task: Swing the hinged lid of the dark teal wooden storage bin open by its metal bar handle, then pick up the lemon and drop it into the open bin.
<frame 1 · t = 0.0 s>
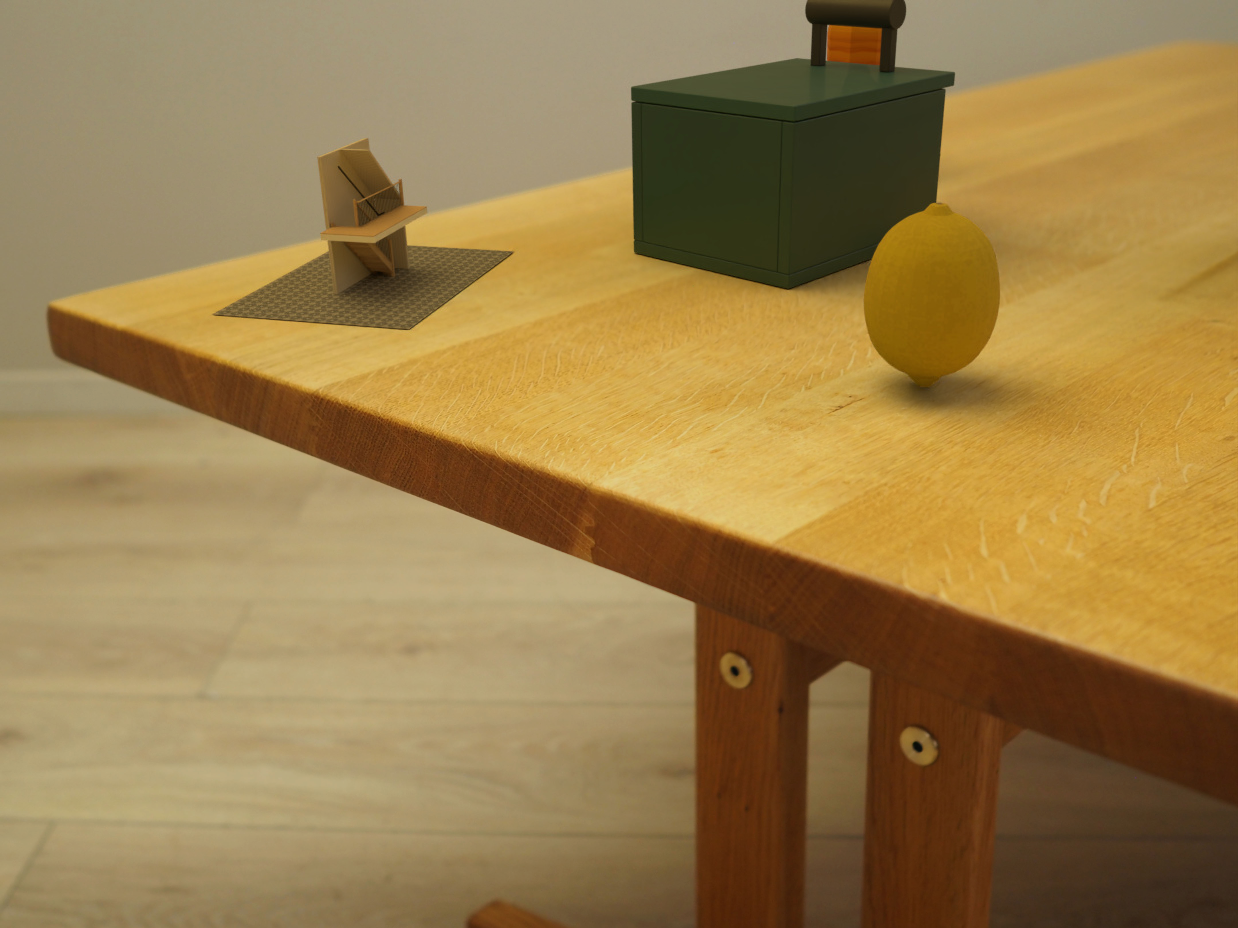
carrot: (852, 174, 95), on the table
bin lid: (797, 48, 72), point 11 cm above the table, hinge at 0.0°
lemon: (923, 391, 54), on the table
architectural model: (374, 284, 71), on the table
bin: (785, 244, 76), on the table
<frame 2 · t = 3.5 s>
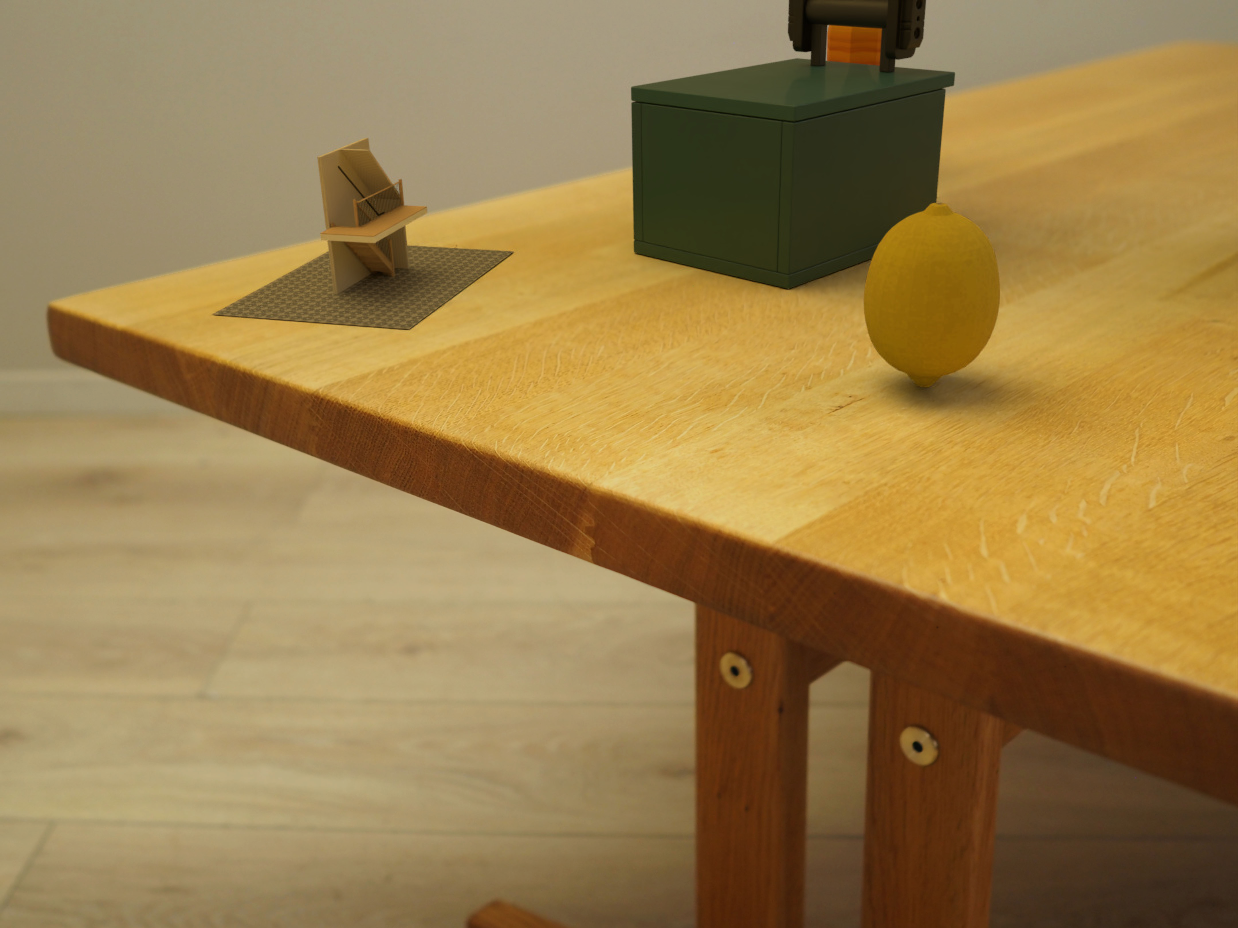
hand: (852, 53, 76), 11 cm above the table, tool pointing down, fingers closed on bin lid, 6 cm apart
bin lid: (797, 48, 72), point 11 cm above the table, hinge at 0.0°, touching gripper
everything else where it was.
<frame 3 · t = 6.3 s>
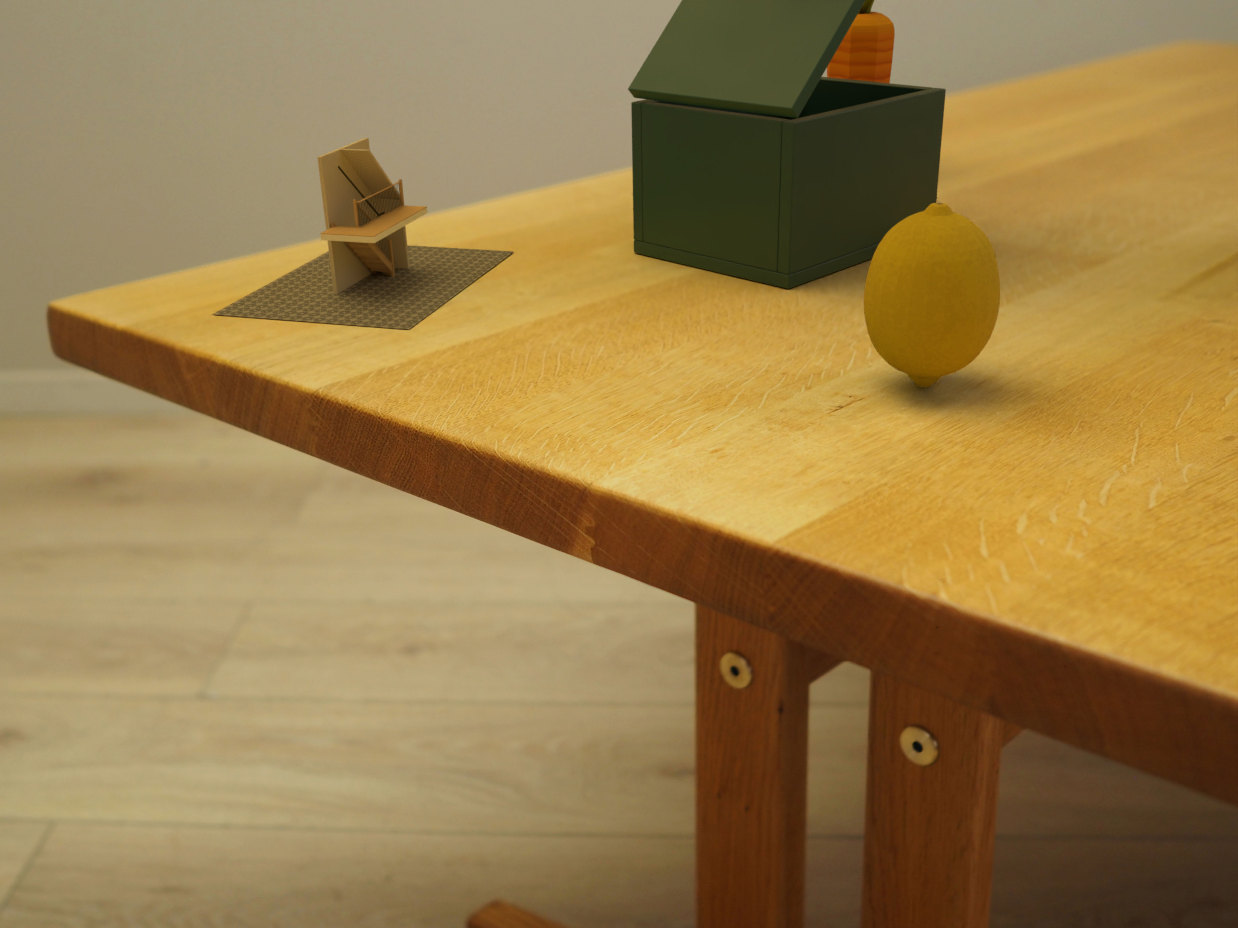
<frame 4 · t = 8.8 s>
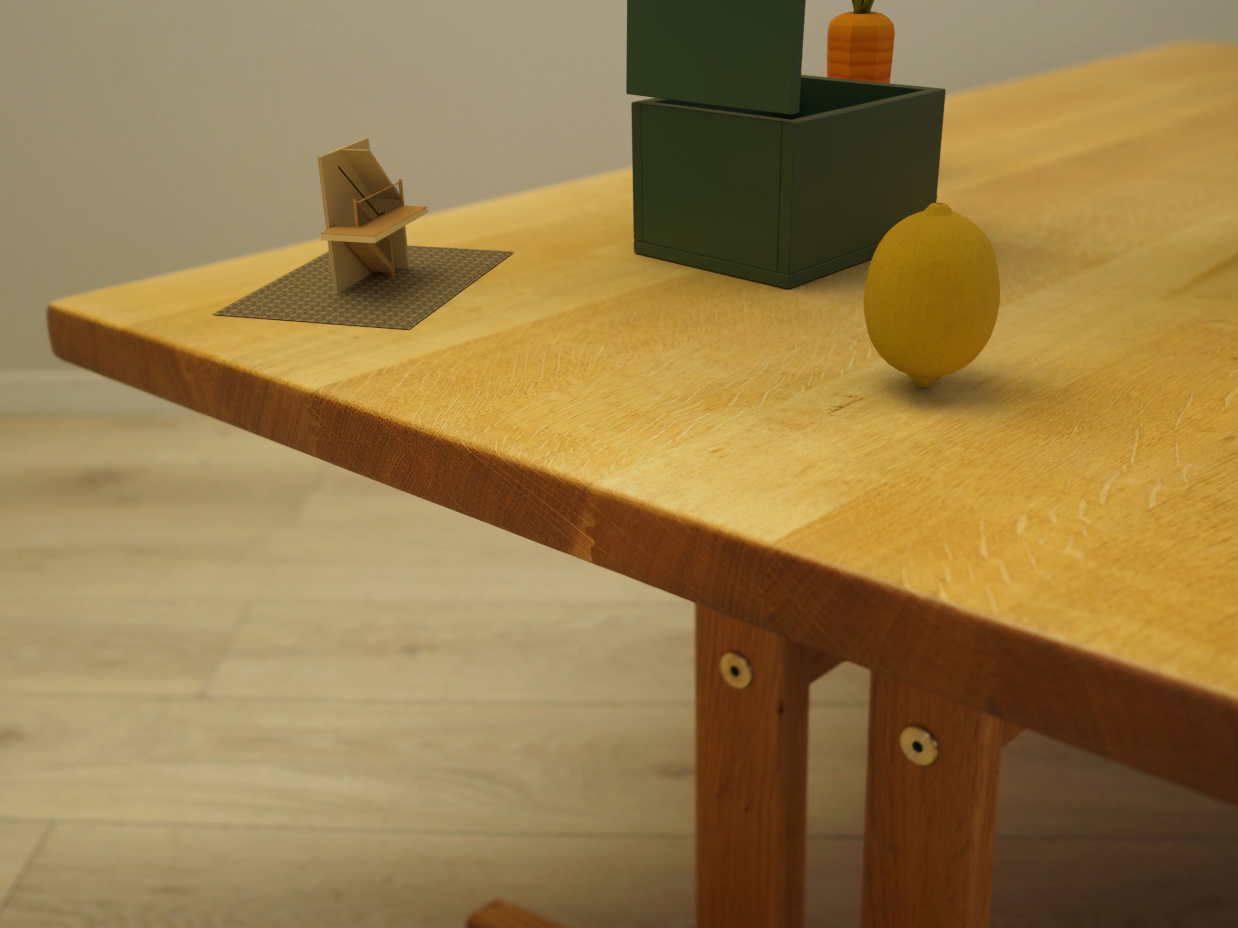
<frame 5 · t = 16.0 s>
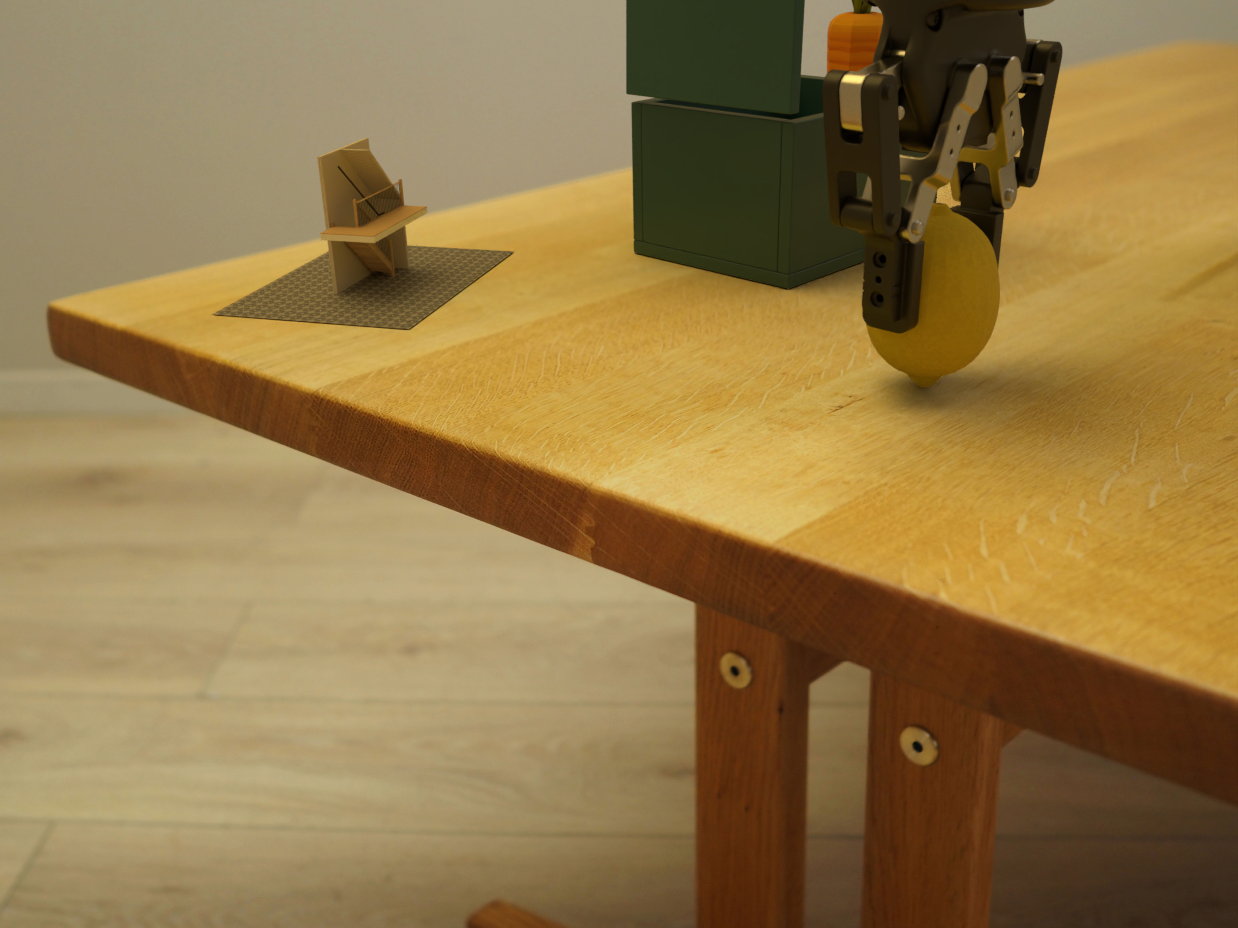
hand: (930, 308, 53), 4 cm above the table, tool pointing down, fingers closed on lemon, 5 cm apart
lemon: (923, 391, 54), on the table, touching gripper
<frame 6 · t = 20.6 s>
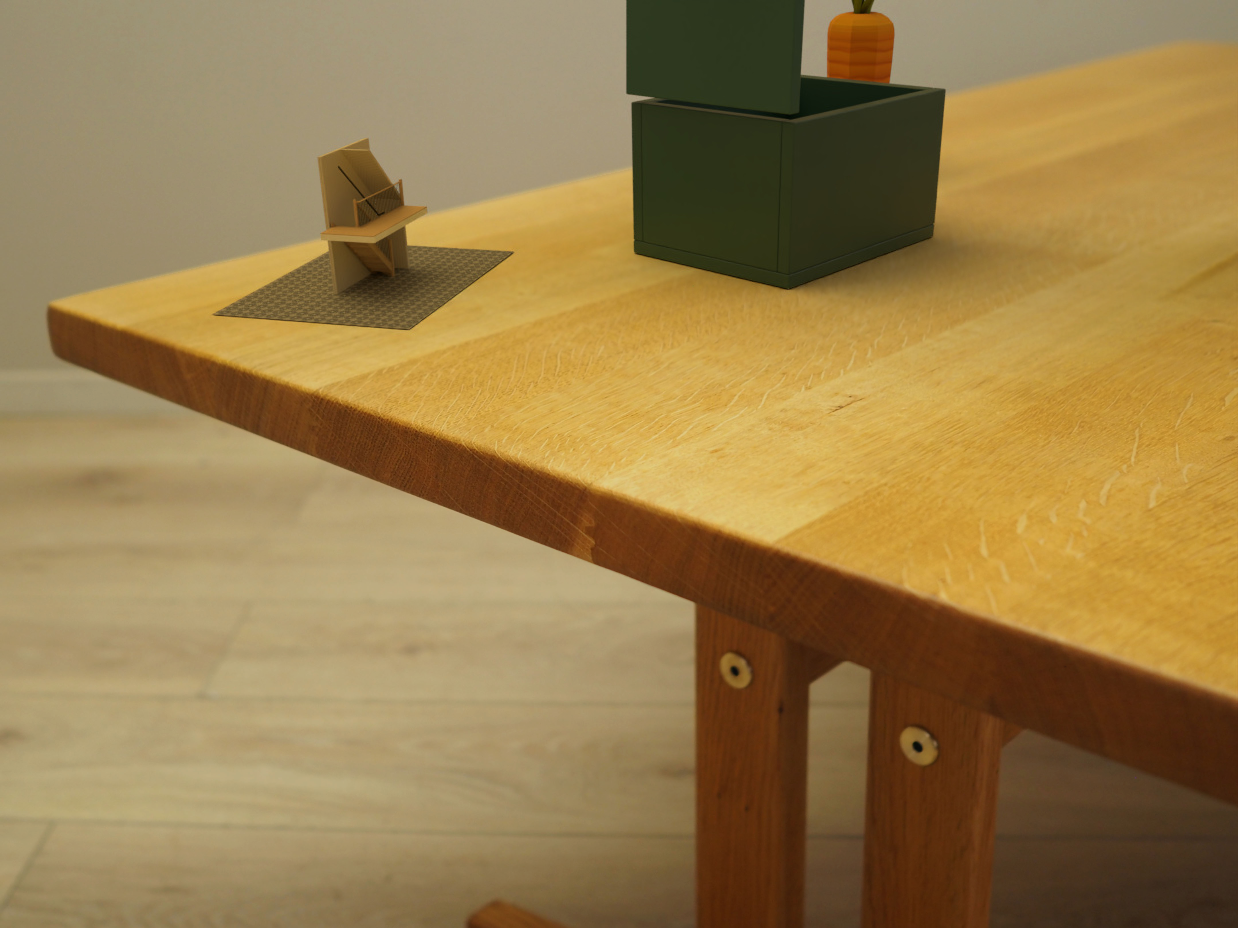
when the fingers open (7 cm above the table, at t = 25.3 s): lemon drops 3 cm, resting on bin.
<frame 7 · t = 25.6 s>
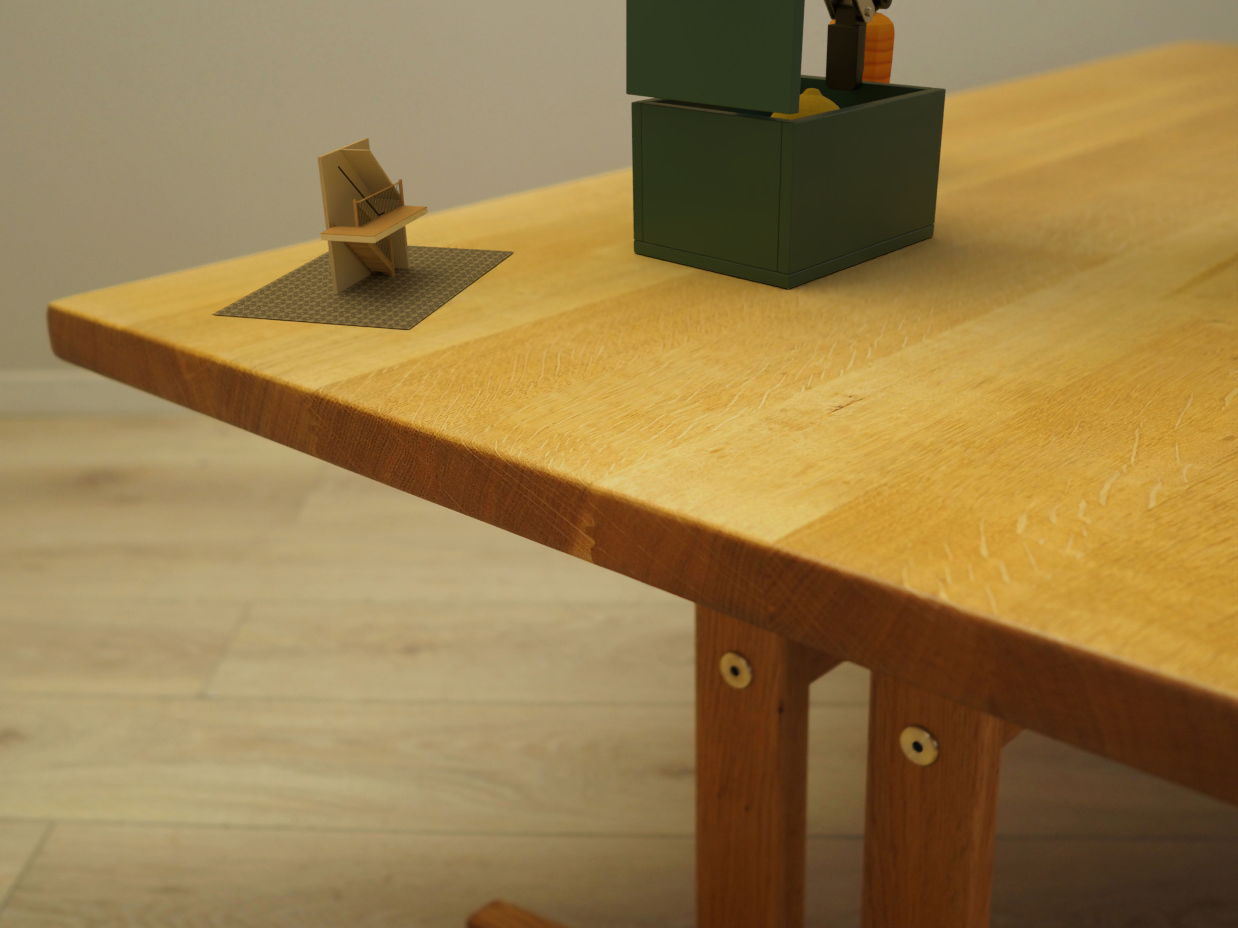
hand: (801, 97, 73), 9 cm above the table, tool pointing down, fingers open, 8 cm apart
lemon: (797, 228, 77), point 1 cm above the table, touching bin
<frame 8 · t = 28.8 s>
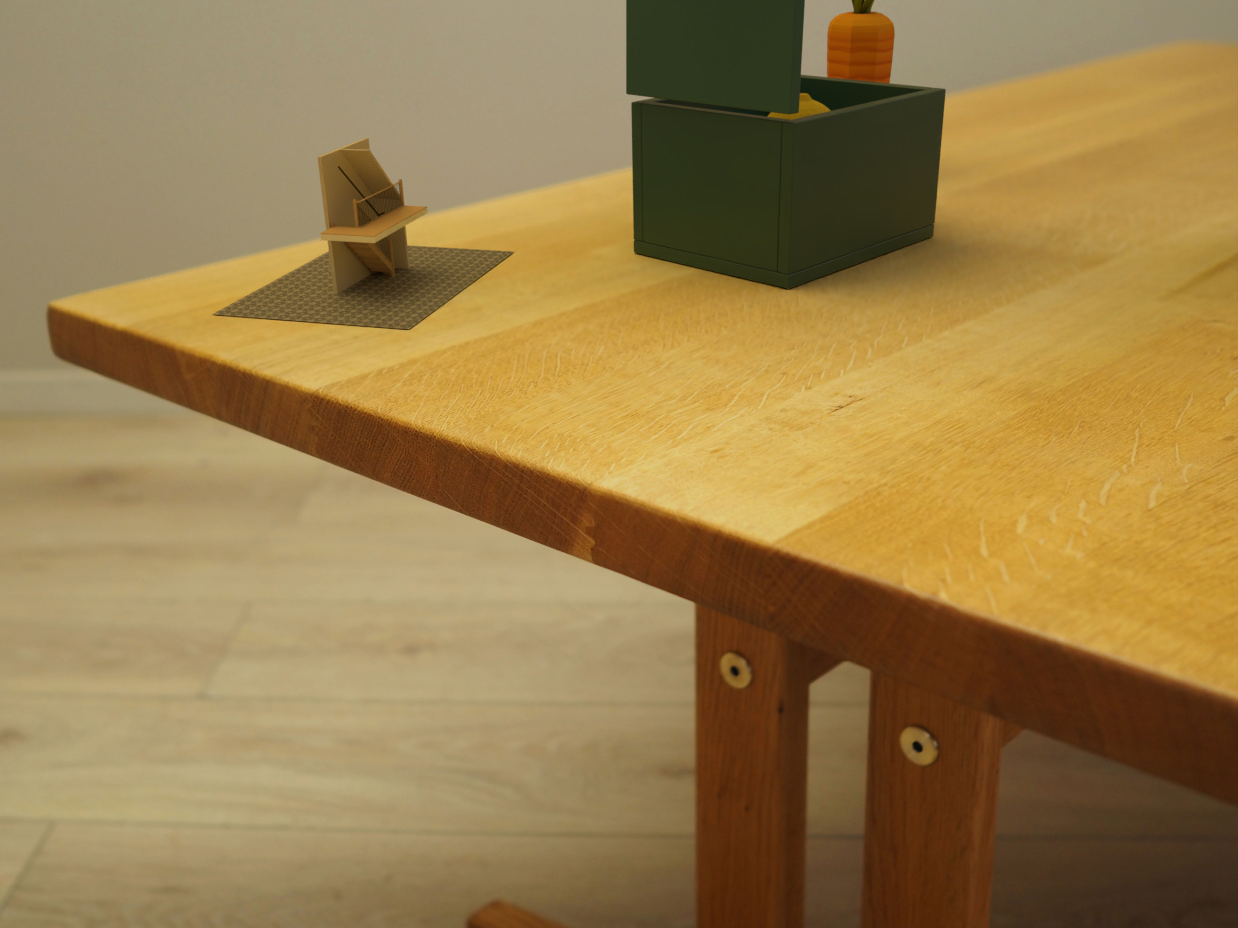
at the end: bin lid at +88° (first picture: +0°); lemon inside the target area in the bin (1.1 cm from its centre), point 0.6 cm above the bin's base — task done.
